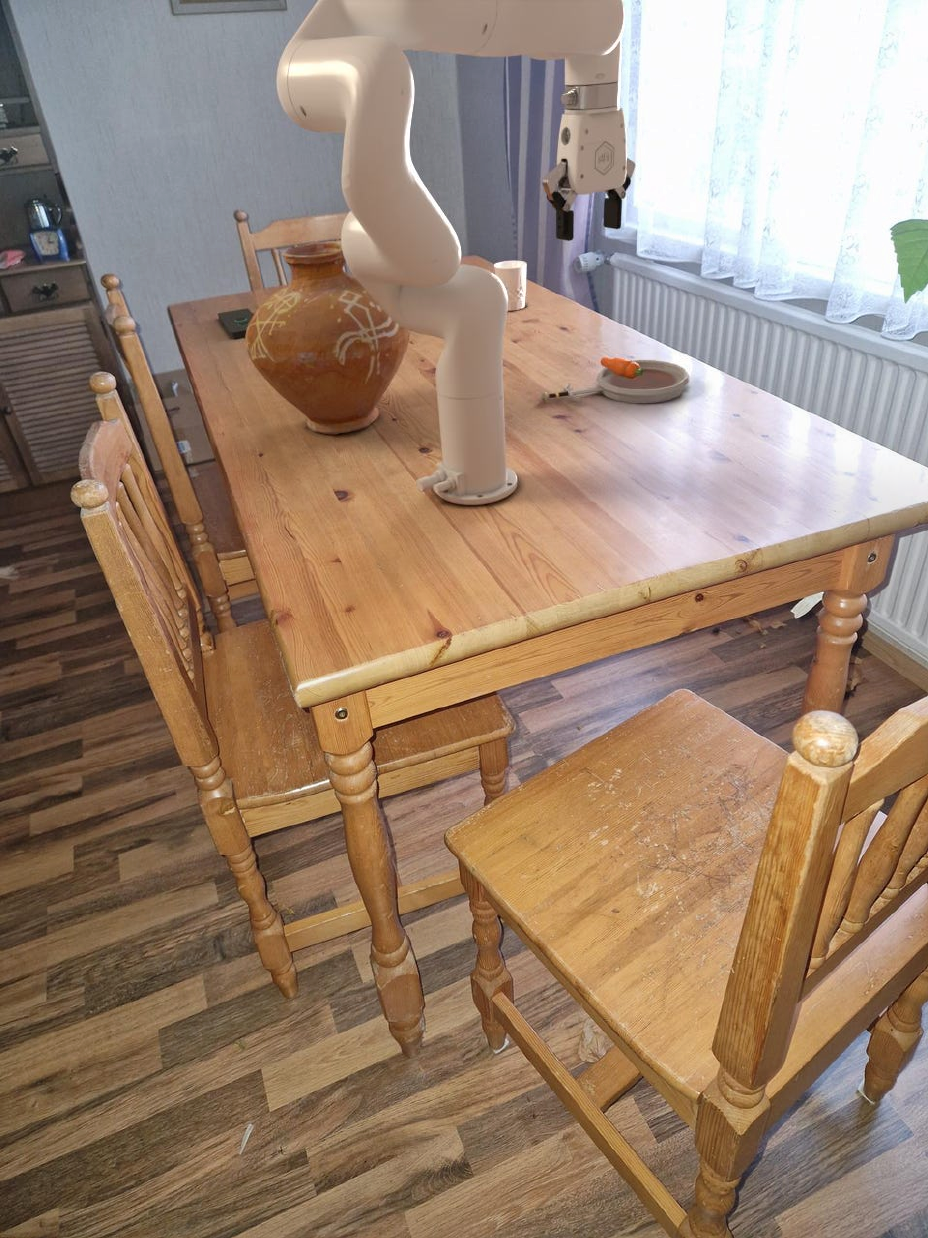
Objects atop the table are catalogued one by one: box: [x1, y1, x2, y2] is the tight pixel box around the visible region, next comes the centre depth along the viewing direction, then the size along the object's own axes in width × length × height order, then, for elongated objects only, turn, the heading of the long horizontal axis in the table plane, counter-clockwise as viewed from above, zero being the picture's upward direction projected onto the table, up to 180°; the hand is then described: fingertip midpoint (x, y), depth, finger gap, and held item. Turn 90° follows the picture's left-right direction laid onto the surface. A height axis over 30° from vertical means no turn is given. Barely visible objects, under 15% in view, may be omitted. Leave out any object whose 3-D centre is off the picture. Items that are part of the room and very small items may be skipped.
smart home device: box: [217, 307, 254, 340], centre depth 203 cm, size 8×2×20 cm
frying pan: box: [541, 359, 691, 404], centre depth 150 cm, size 17×3×28 cm
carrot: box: [600, 356, 643, 379], centre depth 150 cm, size 10×3×3 cm
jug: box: [244, 240, 411, 435], centre depth 139 cm, size 28×28×30 cm
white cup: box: [493, 260, 527, 312], centre depth 198 cm, size 8×8×10 cm
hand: (588, 233), depth 122 cm, fingers open, 9 cm apart
